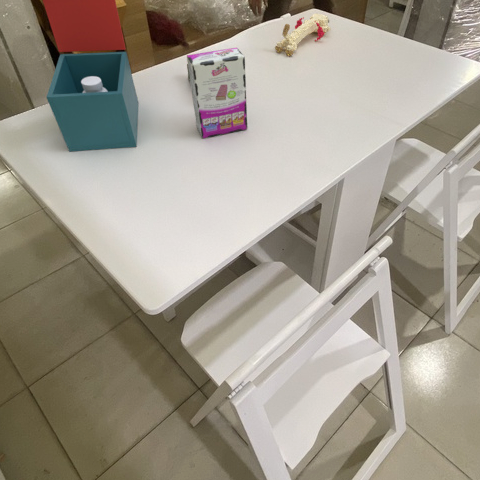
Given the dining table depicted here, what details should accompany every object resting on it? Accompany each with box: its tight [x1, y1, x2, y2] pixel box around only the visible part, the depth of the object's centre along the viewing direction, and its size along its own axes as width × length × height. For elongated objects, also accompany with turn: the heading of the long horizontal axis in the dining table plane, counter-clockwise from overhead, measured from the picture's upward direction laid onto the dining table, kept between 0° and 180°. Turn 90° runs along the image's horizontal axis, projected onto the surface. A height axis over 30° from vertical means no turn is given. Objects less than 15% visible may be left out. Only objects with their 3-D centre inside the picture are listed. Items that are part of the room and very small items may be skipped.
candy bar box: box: [186, 47, 248, 139], centre depth 87 cm, size 11×5×16 cm, turn 114°
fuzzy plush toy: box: [274, 12, 332, 58], centre depth 123 cm, size 10×9×25 cm
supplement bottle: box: [81, 76, 108, 93], centre depth 87 cm, size 5×5×10 cm
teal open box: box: [46, 51, 139, 152], centre depth 88 cm, size 19×14×12 cm
